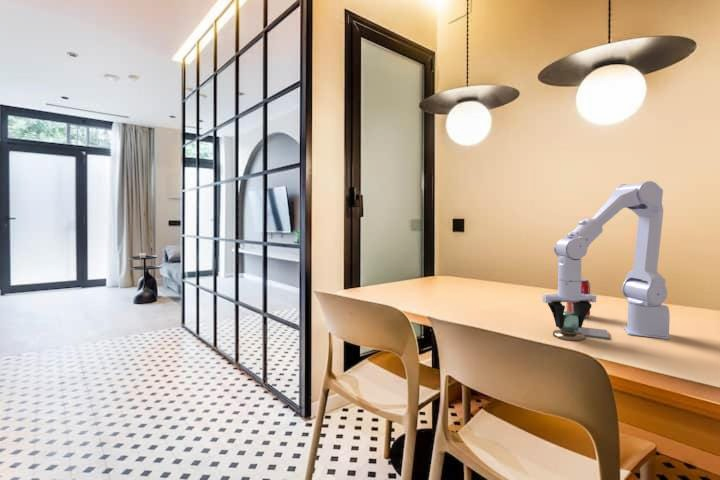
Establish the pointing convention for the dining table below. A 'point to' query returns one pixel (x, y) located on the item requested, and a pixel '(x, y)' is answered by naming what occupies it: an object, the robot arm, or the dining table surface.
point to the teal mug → (570, 322)
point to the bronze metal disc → (568, 335)
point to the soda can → (584, 290)
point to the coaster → (594, 333)
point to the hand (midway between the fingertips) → (568, 327)
